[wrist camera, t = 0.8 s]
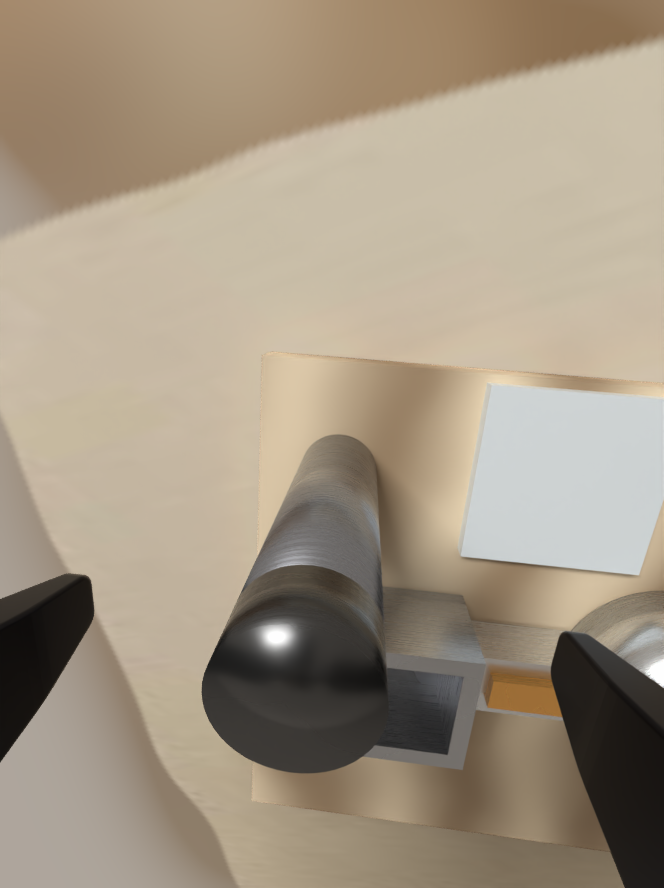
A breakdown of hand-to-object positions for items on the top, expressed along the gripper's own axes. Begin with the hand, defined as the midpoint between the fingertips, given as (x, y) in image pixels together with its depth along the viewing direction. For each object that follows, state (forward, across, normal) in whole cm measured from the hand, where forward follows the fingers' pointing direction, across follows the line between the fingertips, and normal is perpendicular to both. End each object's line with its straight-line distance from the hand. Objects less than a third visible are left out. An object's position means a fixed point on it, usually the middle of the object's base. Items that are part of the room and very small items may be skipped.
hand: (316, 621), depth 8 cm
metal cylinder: (+8, 0, 0) cm, 8 cm away
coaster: (+8, -8, 0) cm, 11 cm away
